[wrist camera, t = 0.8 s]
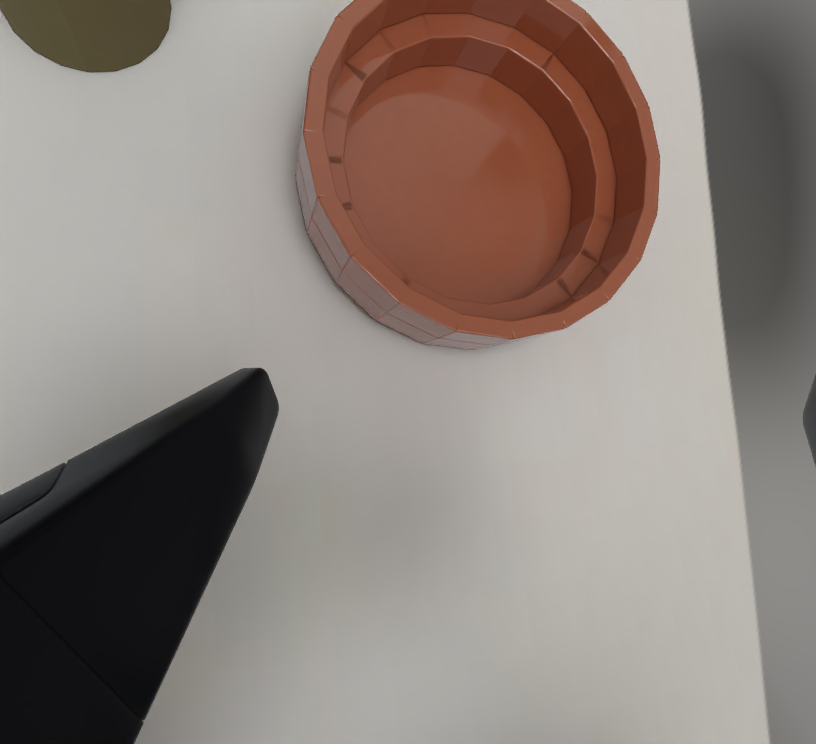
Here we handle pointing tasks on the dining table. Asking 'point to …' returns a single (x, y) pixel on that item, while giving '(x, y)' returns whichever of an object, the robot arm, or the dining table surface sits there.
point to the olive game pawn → (90, 30)
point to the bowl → (476, 166)
